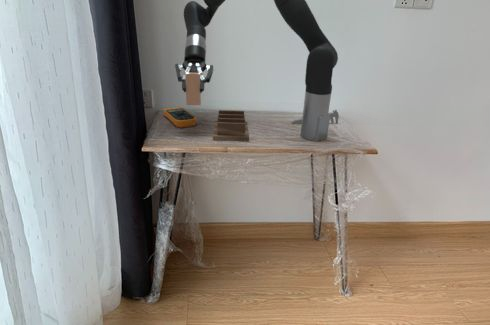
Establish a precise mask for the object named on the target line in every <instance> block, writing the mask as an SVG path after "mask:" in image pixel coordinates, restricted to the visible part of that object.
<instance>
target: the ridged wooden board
mask: <svg viewBox="0 0 490 325" xmlns="http://www.w3.org/2000/svg"><path fill="white" fill-rule="evenodd" d="M212 140H213V141H225V142H226V141H229V142H230V141H231V142H250V132H249V125H248V120H246V118H245V110H231V109H230V110H226V109H218V116H217V119H214V126H213V134H212Z"/></svg>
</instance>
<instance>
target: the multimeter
mask: <svg viewBox="0 0 490 325" xmlns="http://www.w3.org/2000/svg"><path fill="white" fill-rule="evenodd" d="M163 115H164V117H166V118H167V119H168V120H169V121H170V122H171V123H172V124H173V125H174V126H176V128H190V127H194V126H196V125H197V117H196V116H194V115H193V114H191V113H190V112H188V110H186V109H185V108H184V107H183V106H180V107H179V106H177V107H168V108H164V109H163Z"/></svg>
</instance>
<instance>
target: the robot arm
mask: <svg viewBox="0 0 490 325" xmlns="http://www.w3.org/2000/svg"><path fill="white" fill-rule="evenodd" d="M203 1H204V4H205V6H207V7H206V8H205V7H204V6H202V5H201V4H200V3H198V2H197V1H194V0H191V1H189V2H187V3H186V4H185V6H184V9H183V19H184V24H185V29H186V40H185V43H184V44H185V45H184V58H183V60H184V61H183V63H182V64H178V63H175V64H174V68H175V72H176V77H177V81H178V82H181V88H182V91H183V92H184V93H186V79H185V73H186V72H192V73H201V81H200V93H201V94H202V93H203V92H204V91H205V84H206V83H208V84H209V83H210V82H211V79H212V77H213V72H214V65H213V64H210V65H207V63H206V53H207V45H206V43H207V42H206V37H207V32H206V30H207V29H206V27H208V26H209V25H210V23H211V21H212V20H213V17H214V16H215V14H216V12H217V11H218V9H219V8H220V7H221V6H222V4H224V2H226V0H203ZM273 2H274V4H275V7H276V8H277V10H278V12H279V14H280V16H281V17H282V19H283V20H284V21H285V23H286V24H287V25H288V27H289V28H290V29H291V30H292V31H293V32H294V33H295V34H296V35H297V36H298V37H299V38H300V39H301V40H302V42H303V44H304V45H305V46H306V49H307V51H308V53H309V54H308V55H307V58H306V66H305V67H306V68H305V77H304V79H305V80H304V84H305V93H304V100H303V101H304V102H303V110H302V117H301V119H302V123H301V127H300V133H299V134H300V137H301V138H302V139H305V140H308V141H315V142H320V141H322V140H325V139H328V132H329V129H330V128H329V127H330V122H331V120H330V114H329V113H330V112H329V110H330V105H331V104H330V103H331V97H332V91H333V84H332V79H333V70H334V68H335V67H336V66H337V64H338V61H339V57H338V56H339V55H338V52H337V50H336V48H335V47H334V45H333V44H332V43H331V42H330V40H329V39H328V37H327V36H326V35H325V33H324V32H323V30H322V29H321V28H320V26H319V23H318V21H317V19H316V17H315V15H314V14H313V12H312V11H311V8H310V6H309V4H308V2H307V1H306V0H273ZM182 70H184V74H183V76H181V72H182ZM205 71H206V72H207V73H206V76H204V74H203V73H204V72H205Z"/></svg>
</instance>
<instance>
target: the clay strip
mask: <svg viewBox="0 0 490 325" xmlns="http://www.w3.org/2000/svg"><path fill="white" fill-rule="evenodd" d="M184 73H185V72H184ZM185 79H186V92H185V105H186V106H201V105H202V93H200V81H201V73H192V72H186V73H185Z"/></svg>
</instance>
